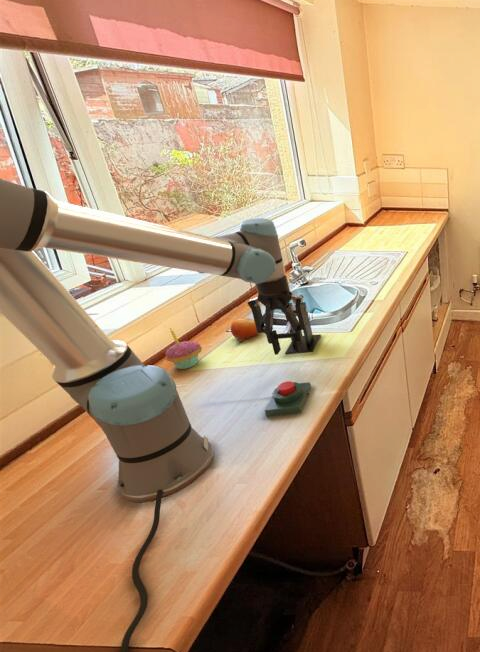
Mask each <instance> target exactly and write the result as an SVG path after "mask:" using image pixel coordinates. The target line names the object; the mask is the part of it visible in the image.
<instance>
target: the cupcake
mask: <svg viewBox="0 0 480 652" xmlns="http://www.w3.org/2000/svg"><path fill="white" fill-rule="evenodd" d="M169 330H170V333H171V335H172V338H173V339H174V341H175V343H174V344H173V345H171V346H169V347H168V348H167V349H166V350H165V352H164V356H165V360H166V361H167V362H170V363H172V364H173V365H175V366H176V368H177V369H179V370H185V369H190V368H192V367H194V366H196V365H197V364H198V358H199V354H200V353H201V352H202V351H203V349H202V348H203V347H202V345H201V344H200V343H198V342H196V341H193V340H184V341H179V339H178V337H177V335H176V333H175V331H174V330H172V328H171V327H170V328H169Z"/></svg>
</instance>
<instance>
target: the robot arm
mask: <svg viewBox="0 0 480 652" xmlns="http://www.w3.org/2000/svg"><path fill="white" fill-rule="evenodd" d="M42 248H45V249H52V250H57V251H63V252H70V253H77V254H82V255H89V256H95V257H100V258H101V257H102V258H108V259H115V260H121V261H127V262H132V263H133V262H134V263H139V264H145V265H146V264H147V265H153V266H159V267H165V268H172V269H178V270H184V271H190V272H191V271H192V272H196V273H198V274H210V275H215V276H220V277H225V278H233V279H238V280H242V281H243V282H245V283H251V284H254V285H255V290H256V292H257V297H251V298H250V299H249V300H248V301H247V305H248V307H249V308H250V310H251V313H252V317H253V320H254V321H255V325H256V329H257V332H258V334H261V333H262V334H265V336H266V339H267V343H268V344H269V345H271V346H272V350H273V353H274V355H279V354H280V352H281V350H282V349H281V345H280V339H275V337H274V336H275V334H278V332H277V330H276V329H274V314H275V313H274V312H275V311H276V310H281V312H282V314H284V316H285V319H286V318H287V319H288V321H289V323H290V325H291V326H292V328H293V330H294V331H293V332H292V336H293V341H294V345H295V349H296V353H295V354H300V353H299V352H300V350H301V349H302V346H301V341H302V339H303V336H304V334H303V332H302V331H303V330H305V328H306V326H307V320H306V316H305V311H304V307H303V303H302V302H304V295H302V294H300V295H295V294H293V293H292V292H291V290H290V285H289V280H288V277H287V275H286V273H287V271H286V268H285V264H284V263H285V262H284V259H283V255H282V251H281V246H280V241H279V235H278V232H277V229H276V226H275V223H274V221H273V220H271V219H268V218H262V217H261V218H249V219H246V220H243V221H241V222H240V224H239V231H236V232H232V233H227V234H222V235H217V236H209V235H203V234H199V233H194V232H191V231H187V230H182V229H178V228H173V227H169V226H165V225H161V224H157V223H153V222H149V221H144V220H140V219H135V218H131V217H127V216H123V215H119V214H115V213H111V212H106V211H103V210H102V211H101V210H97V209H93V208H89V207H85V206H80V205H76V204H72V203H67V202H64V201H59V200H57V199H54V197H52V195H50V193H49V192H47V191H45V190H41V189H37V188H33V187H29V186H25V185H23V184H22V185H21V184H18V183H15V182H12V181H10V180H7V179H3V178H0V314H1V315H2V316H3V317H4V318H5V319H6V320H7V321H8V322H10V324H11V325H13V326H14V328H16V329H17V331H18V332H19V333H21V334H22V335H23V336H24V338H26V339H27V340H28V341H29V342H30V343H31V344H32V345H33V346H34V347H35V348H36V349H37V350H38V351H39V352H40V353H41V354H42V355H43V356H45V358H46V359H47V360H48V361H49V362H50V363H51V364H52V365H53V366H55V367H54V370H53V372H52V375H51V376H52V379H53V381H54V382H56V384H57V385H59V386H60V388H62V389H63V390H64V391H65V392H66V393H67V394H68V395H69V396H70V398H71V399H72V400H73V401H74V402H76V403H77V404H78V405H79V406H80V407H81V408H82V409H83V410H84V411H85V412H86V413H87V415H89V417H91V418H92V420H94V422H95V423H96V424H97V425H98V426H99V428H100V429H101V430H102V432H103V434H104V435H105V436H106V438H107V440H108V442H109V444H110V446H111V447H112V450H113V452H114V453H115V455H116V457H117V459H118V477H117V479H118V480H117V489H118V490H119V492H120V494H121V496H122V497H123V498H124V499H125V500H126V501H128V502H131V503H137V504H139V503H141V504H142V503H143V504H144V503H150V502H154V501H155V502H154V503H155V504H154V511H153V522H152V525H151V529H150V531H149V533H148V535H147V537H146V539H145V540H144V543H143V544H142V546H141V548H140V550H138V553H137V554H136V557H135V559H134V561H133V564H132V565H133V566H132V570H131V577H132V582H133V585H134V587H135V588H136V591H137V592H138V596H139V598H140V599H139V600H140V603H139V608H138V610H137V614H135V616H134V618H133V620H132V621H131V623H130V624H129V626H128V628H127V629H126V631H125V633H124V636H123V637H122V641H121V646H120V652H129V649H130V640H131V639H132V635H133V633H134V631H135V629H136V628H137V627H138V624H139V623H140V622H141V620H142V618H143V616H144V615H145V613H146V610H147V606H148V591H147V589H146V587H145V585H144V583H143V581H142V579H141V577H140V566H141V563H142V559H143V557H144V555H145V553H146V551H147V549H148V548H149V546H150V544H151V542H152V541H153V539H154V537H155V535H156V532H157V530H158V527H159V523H160V517H161V506H162V500H163V499H165V498H167V497H170V496H172V495H174V494H177V493H178V492H181V491H183V490H184V489H185V488H187V487H189V486H191V485H192V484H193V483H194V482H196V481H197V480H199V478H201V477H202V476H203V475H204V474H205V473H206V472H207V471H208V469H209V468H210V466H211V464H212V462H213V460H214V455H215V453H214V450H213V447H212V444H211V443H210V441H209V437H207V436H206V435H203V436H201V435H200V434H199V433H198V432H197V431H196V430H195V429H194V428H193V427H192V424H191V422H190V419H189V416H188V415H187V412H186V409H185V407H184V405H183V402H182V400H181V397H180V395H179V392H178V390H177V384H176V382H175V381H174V379H173V377H172V376H171V374H170V373H169V372H168V371H167V370H166V369H164V368H162V367H160V366H157V365H150V364H148V365H145V364H144V362H142V360H141V359H140V358H139V357H138V355H137V354H135V352H134V351H133V350H132V348H130V346H129V345H128V344H127V343H126V342H125V341H123V340H119V339H117V340H116V339H111V338H110V337H108V335H107V334H106V333H105V332H104V331H103V330H102V328H101V327H100V326H99V325H98V324H97V322H96V321H95V320H94V319H93V318H92V317H91V315H90V314H89V313H87V311H86V309H84V307H82V306H81V304H80V303H79V302H78V300H77V299H75V297H74V296H73V295H72V294H71V293H70V292H69V291H68V289H67V288H66V287H65V285H64V284H63V283H61V281H60V280H59V279H58V278H57V277H56V275H55V274H54V273H53V272H52V270H50V269H49V267H48V266H47V265H46V264H45V263H44V262H43V260H42V259H41V258H40V257H39V256H38V254H36V252H35V251H37V250H39V249H42ZM290 301H292V302H293V305H295V307H296V312H297V316H295V314H294V312H293V311H292V309H291V305H290V303H291V302H290ZM260 304H262V305H263V306H264V307H265V308H264V309H265V310H264V314H265V320H264V316H263V312H262V308H261V305H260Z"/></svg>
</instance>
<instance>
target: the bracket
mask: <svg viewBox="0 0 480 652" xmlns="http://www.w3.org/2000/svg"><path fill="white" fill-rule="evenodd" d="M289 303H290V305H291V307H292V305H293V303H292V302H289ZM302 303H303V307H304V311H305V316H306V320H307V326H306V328H305V330H302V331H303V332H302V333H303V339H302V341H301V346H302V349H301V350H300V352H299V353H298V354H302V353H313V352H314V351H315V349H316V347H317V345H318V342H319V341H320V338H321V336H322V335H321V333H320V334H313V330H312V326H311V320H310V316H309V311H308V308H307V303H306V301H303V302H302ZM285 320H286V325H287V324H288V319H287V318H286V317H285ZM293 331H294V330H293V328H292V327H291V330H290V332H289V333H292V332H293ZM290 341H291V342H290V345H289V346H288V347H287V349H286V351H285V352H284V353H285V354H284V355H292V354H293V355H294V354H297V353H296V349H295V345H294V341H293V338H290Z"/></svg>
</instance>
